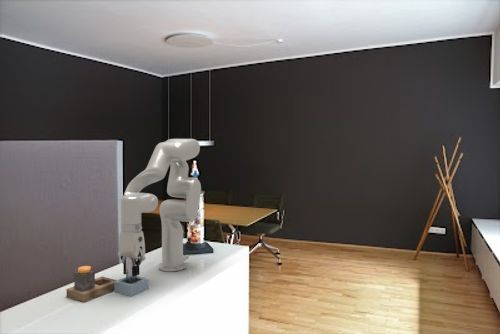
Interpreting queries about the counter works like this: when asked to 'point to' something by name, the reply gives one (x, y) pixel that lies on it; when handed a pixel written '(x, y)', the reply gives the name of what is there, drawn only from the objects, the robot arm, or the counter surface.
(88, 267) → the release button
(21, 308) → the counter surface
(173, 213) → the robot arm
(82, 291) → the socket block
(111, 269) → the counter surface
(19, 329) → the counter surface
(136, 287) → the blue-grey square frame
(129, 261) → the grey smooth thick cylinder
